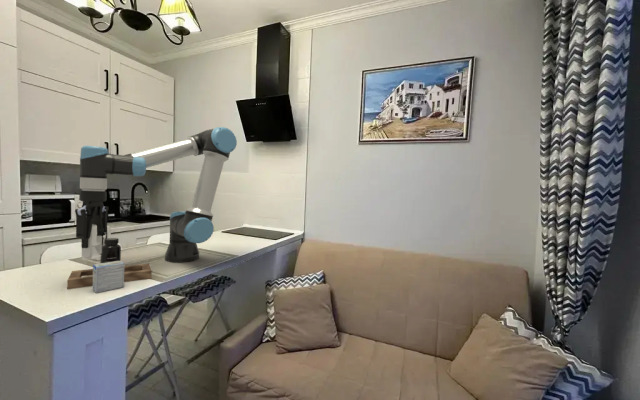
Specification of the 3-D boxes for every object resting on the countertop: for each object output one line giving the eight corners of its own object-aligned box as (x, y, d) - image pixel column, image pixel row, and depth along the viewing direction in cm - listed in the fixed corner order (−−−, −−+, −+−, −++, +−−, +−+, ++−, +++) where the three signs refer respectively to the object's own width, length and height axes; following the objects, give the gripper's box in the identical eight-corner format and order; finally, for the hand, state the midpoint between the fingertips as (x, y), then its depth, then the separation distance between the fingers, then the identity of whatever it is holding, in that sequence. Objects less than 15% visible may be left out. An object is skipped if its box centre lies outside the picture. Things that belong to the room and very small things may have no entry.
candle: (92, 254, 103) (93, 222, 103) (104, 255, 102) (105, 223, 102) (77, 257, 98) (78, 224, 97) (90, 259, 97) (91, 225, 97)
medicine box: (120, 284, 100) (120, 260, 99) (124, 287, 97) (124, 262, 96) (92, 289, 93) (92, 264, 93) (95, 293, 91) (96, 267, 90)
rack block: (148, 270, 116) (149, 262, 116) (151, 278, 107) (151, 269, 107) (72, 279, 102) (72, 270, 102) (67, 289, 93) (67, 279, 93)
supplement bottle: (109, 270, 113) (110, 241, 113) (95, 268, 115) (96, 239, 114) (124, 265, 120) (125, 238, 120) (111, 264, 121) (112, 236, 121)
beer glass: (113, 258, 129) (113, 226, 128) (94, 261, 123) (95, 228, 123) (106, 256, 133) (107, 224, 132) (88, 258, 127) (88, 226, 126)
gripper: (99, 189, 108) (97, 249, 109) (61, 189, 90) (60, 261, 91) (119, 190, 108) (118, 249, 109) (86, 191, 91) (84, 261, 92)
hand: (91, 254), depth 100 cm, fingers closed on candle, 4 cm apart
